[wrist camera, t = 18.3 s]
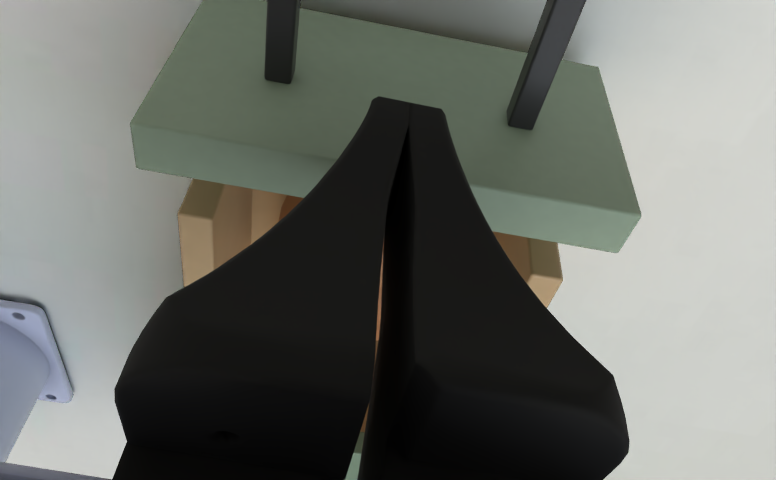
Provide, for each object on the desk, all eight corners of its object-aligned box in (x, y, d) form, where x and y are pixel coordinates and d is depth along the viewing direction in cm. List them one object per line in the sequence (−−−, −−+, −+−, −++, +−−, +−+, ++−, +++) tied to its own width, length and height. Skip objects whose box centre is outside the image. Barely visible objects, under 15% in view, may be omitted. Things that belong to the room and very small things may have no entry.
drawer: (201, -233, 13) (89, -148, 9) (687, -125, 14) (784, -2, 10) (217, 292, 25) (172, 427, 21) (474, 334, 26) (478, 472, 22)
